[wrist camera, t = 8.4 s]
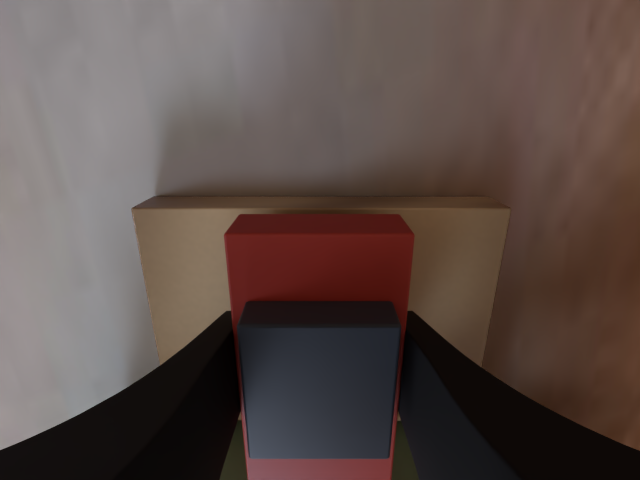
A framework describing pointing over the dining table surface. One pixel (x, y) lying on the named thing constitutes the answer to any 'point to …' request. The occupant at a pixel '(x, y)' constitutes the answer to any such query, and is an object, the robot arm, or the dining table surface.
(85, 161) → the dining table surface
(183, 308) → the stand
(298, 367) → the toy car
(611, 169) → the dining table surface
